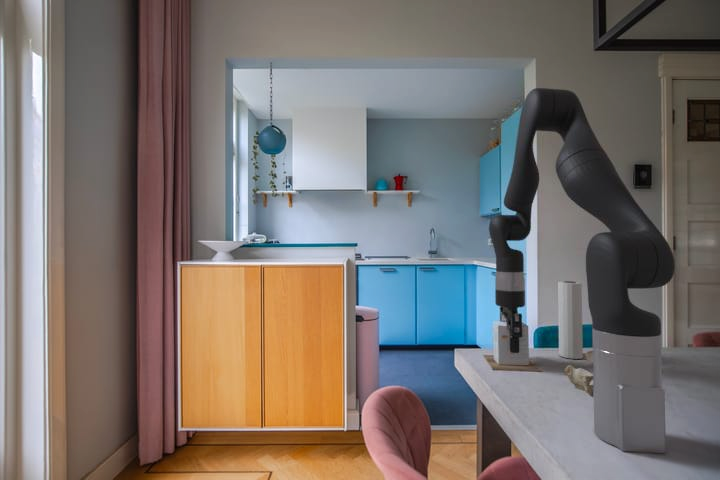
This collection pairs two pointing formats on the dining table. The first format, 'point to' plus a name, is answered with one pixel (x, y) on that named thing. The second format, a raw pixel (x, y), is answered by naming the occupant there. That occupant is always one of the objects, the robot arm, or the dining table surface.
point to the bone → (581, 375)
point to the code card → (495, 365)
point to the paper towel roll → (570, 319)
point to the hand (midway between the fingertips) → (510, 348)
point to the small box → (503, 346)
